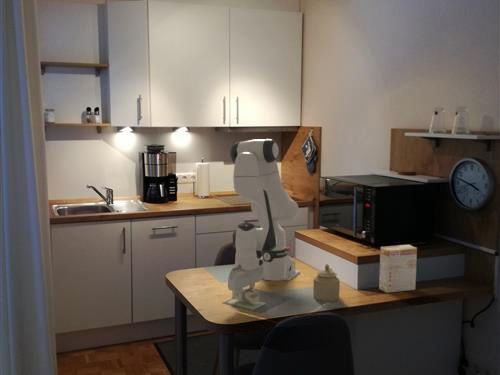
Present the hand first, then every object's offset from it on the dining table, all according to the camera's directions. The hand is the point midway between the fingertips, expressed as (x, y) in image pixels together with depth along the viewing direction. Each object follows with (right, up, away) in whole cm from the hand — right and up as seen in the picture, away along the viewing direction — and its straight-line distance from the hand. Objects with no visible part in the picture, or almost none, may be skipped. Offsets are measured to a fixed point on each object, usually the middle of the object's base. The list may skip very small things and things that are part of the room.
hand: (245, 295), depth 235 cm
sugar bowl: (+34, -3, +11) cm, 36 cm away
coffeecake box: (+68, -2, +22) cm, 72 cm away
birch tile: (0, -2, 0) cm, 2 cm away
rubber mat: (+5, -3, +4) cm, 7 cm away
